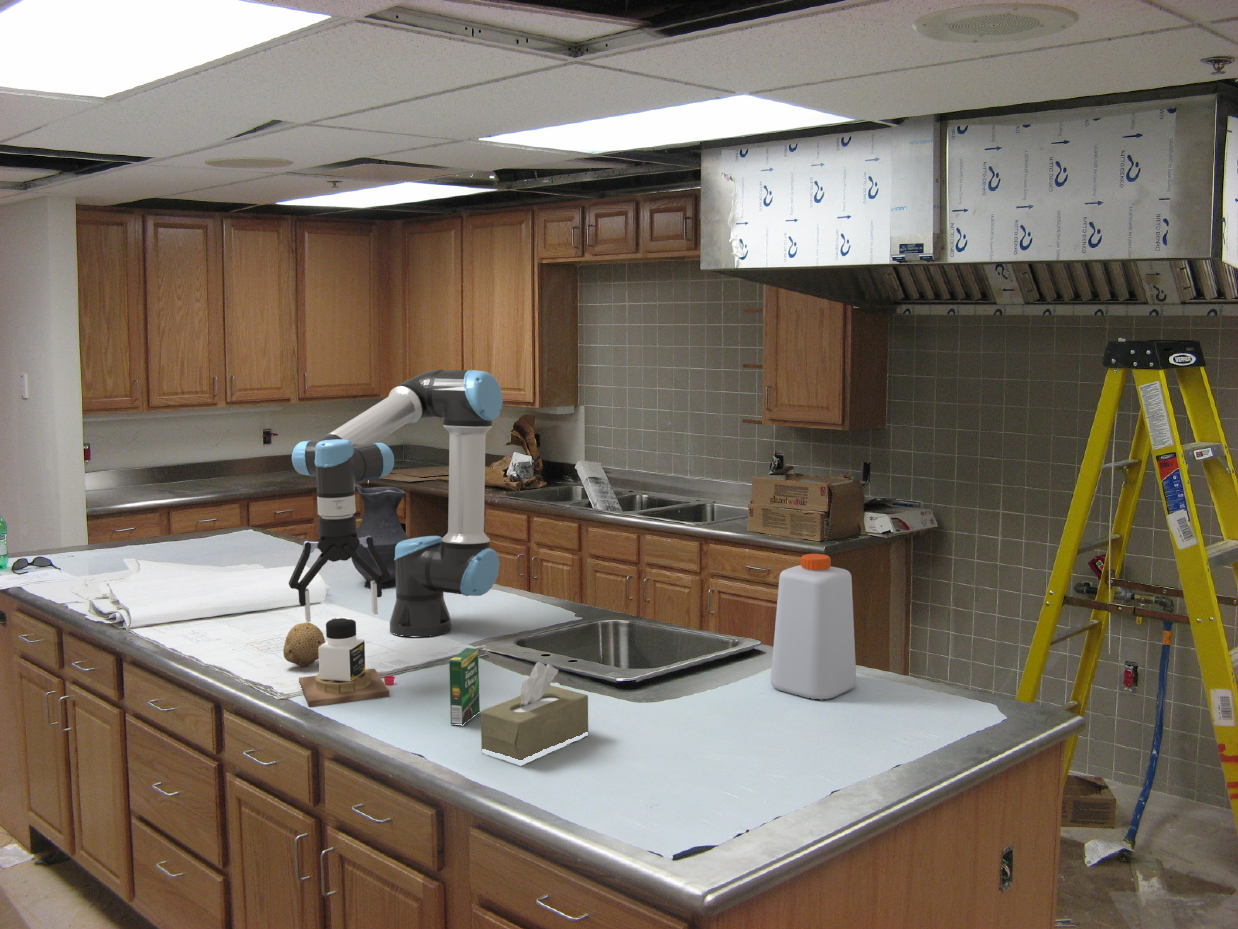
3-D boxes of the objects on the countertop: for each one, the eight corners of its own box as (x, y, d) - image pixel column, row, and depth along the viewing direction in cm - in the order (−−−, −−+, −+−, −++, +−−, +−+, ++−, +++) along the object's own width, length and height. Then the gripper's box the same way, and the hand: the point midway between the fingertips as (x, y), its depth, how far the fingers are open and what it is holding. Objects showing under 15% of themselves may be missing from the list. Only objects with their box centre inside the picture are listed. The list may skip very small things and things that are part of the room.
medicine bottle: (351, 682, 226) (349, 625, 225) (318, 680, 228) (316, 623, 226) (365, 671, 233) (364, 616, 232) (334, 669, 235) (332, 614, 233)
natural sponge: (336, 663, 249) (334, 620, 247) (309, 675, 241) (307, 630, 239) (304, 658, 252) (302, 616, 251) (277, 670, 244) (275, 625, 243)
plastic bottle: (762, 688, 231) (764, 556, 228) (802, 671, 242) (805, 545, 239) (824, 705, 221) (827, 567, 218) (863, 686, 232) (867, 555, 229)
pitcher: (404, 592, 314) (401, 488, 311) (331, 592, 315) (327, 488, 311) (416, 578, 332) (413, 479, 328) (346, 578, 332) (343, 479, 328)
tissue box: (519, 768, 190) (518, 679, 188) (479, 755, 196) (478, 668, 194) (590, 736, 205) (589, 653, 203) (550, 725, 211) (549, 644, 209)
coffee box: (463, 727, 209) (461, 660, 208) (449, 726, 210) (447, 659, 208) (481, 713, 217) (479, 648, 215) (467, 712, 218) (466, 647, 216)
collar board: (374, 673, 241) (374, 660, 241) (389, 696, 227) (388, 682, 226) (299, 683, 235) (298, 669, 235) (308, 707, 221) (308, 692, 220)
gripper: (275, 524, 218) (281, 628, 221) (401, 513, 228) (405, 614, 231) (271, 517, 225) (277, 618, 228) (394, 507, 234) (398, 605, 237)
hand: (341, 616), depth 229 cm, fingers open, 13 cm apart
